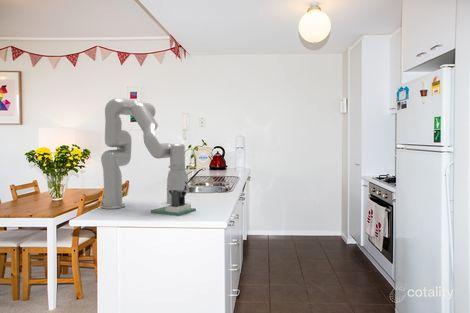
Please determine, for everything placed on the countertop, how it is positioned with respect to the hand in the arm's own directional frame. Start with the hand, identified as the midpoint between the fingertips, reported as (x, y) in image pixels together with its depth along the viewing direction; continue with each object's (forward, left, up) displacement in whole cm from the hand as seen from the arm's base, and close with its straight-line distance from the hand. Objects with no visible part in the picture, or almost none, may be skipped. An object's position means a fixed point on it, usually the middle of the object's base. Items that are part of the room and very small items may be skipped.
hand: (178, 203), depth 193 cm
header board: (-3, 0, -4) cm, 5 cm away
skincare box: (-18, +21, -5) cm, 28 cm away
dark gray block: (0, 0, -2) cm, 2 cm away
